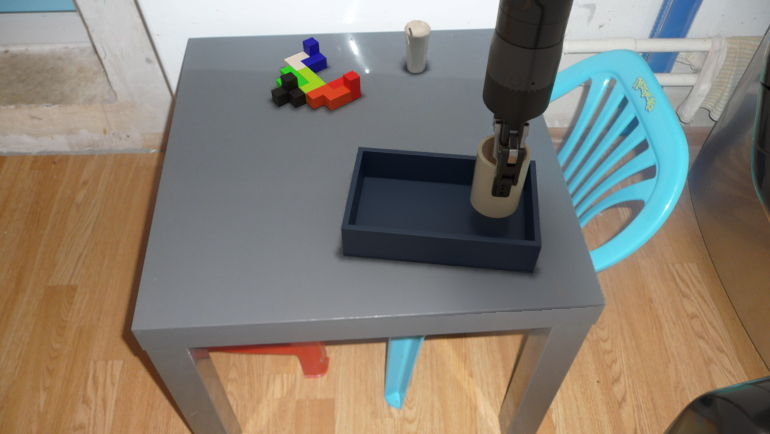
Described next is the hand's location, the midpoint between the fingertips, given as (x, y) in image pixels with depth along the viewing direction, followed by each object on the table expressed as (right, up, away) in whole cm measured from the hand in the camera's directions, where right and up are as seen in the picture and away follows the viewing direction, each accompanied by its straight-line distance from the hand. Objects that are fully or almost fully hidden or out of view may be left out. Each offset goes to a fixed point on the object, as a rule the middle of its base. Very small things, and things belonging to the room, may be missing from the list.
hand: (499, 174), depth 76 cm
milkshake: (-9, +21, +32) cm, 40 cm away
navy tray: (-7, -6, +8) cm, 12 cm away
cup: (0, -3, +4) cm, 5 cm away
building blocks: (-29, +17, +28) cm, 44 cm away
